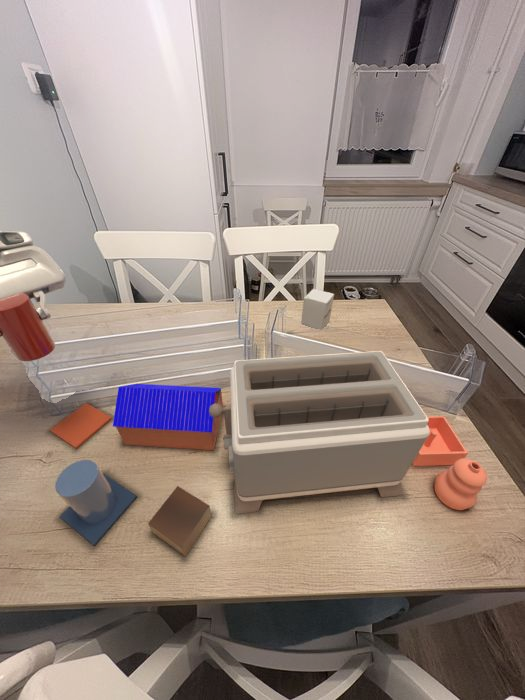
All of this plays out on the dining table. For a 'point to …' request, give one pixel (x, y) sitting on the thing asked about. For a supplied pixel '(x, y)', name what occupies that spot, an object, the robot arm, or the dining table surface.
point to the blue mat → (100, 529)
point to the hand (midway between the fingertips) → (22, 327)
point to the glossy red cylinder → (24, 328)
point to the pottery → (462, 476)
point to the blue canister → (86, 491)
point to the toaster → (319, 426)
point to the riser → (180, 520)
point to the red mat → (80, 425)
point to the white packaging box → (317, 309)
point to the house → (167, 416)
